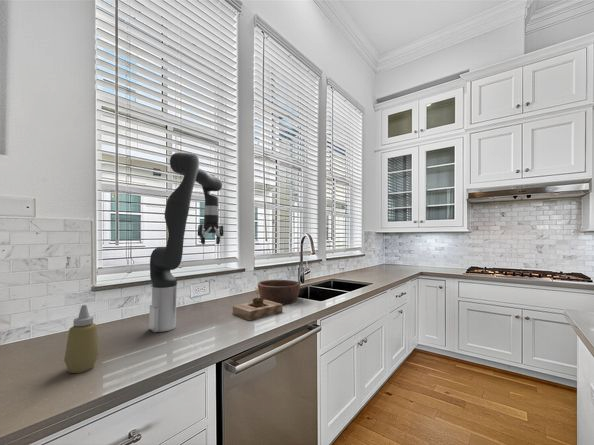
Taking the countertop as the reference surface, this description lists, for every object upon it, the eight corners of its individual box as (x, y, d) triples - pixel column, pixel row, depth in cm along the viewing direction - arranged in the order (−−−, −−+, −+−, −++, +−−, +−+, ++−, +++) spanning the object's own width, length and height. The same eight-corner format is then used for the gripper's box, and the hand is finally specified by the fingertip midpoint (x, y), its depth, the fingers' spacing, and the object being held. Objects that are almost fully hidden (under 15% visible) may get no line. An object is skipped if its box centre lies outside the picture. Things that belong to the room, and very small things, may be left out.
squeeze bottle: (104, 362, 87) (107, 302, 87) (86, 375, 79) (88, 309, 79) (77, 362, 86) (79, 302, 87) (55, 375, 78) (58, 309, 79)
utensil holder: (252, 315, 138) (253, 290, 139) (250, 311, 144) (251, 287, 145) (264, 314, 140) (265, 289, 140) (262, 311, 146) (262, 287, 146)
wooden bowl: (307, 299, 174) (307, 282, 174) (284, 308, 153) (284, 288, 153) (274, 294, 187) (274, 278, 188) (248, 301, 166) (248, 283, 167)
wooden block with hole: (249, 320, 130) (249, 311, 130) (232, 314, 140) (232, 305, 140) (282, 312, 144) (282, 304, 144) (264, 307, 154) (265, 299, 154)
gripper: (202, 213, 150) (201, 244, 150) (226, 215, 160) (225, 244, 160) (195, 214, 156) (195, 244, 155) (219, 215, 166) (218, 243, 165)
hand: (210, 244), depth 157 cm, fingers open, 8 cm apart
